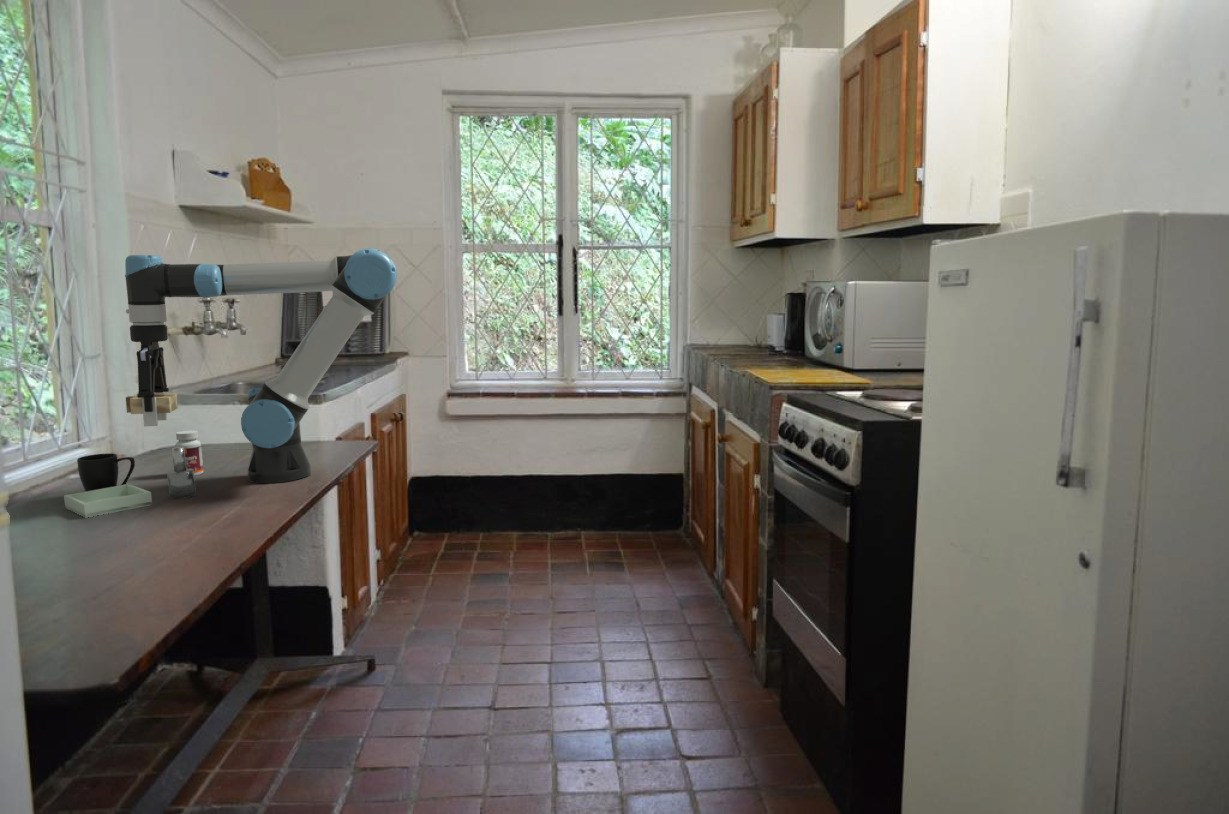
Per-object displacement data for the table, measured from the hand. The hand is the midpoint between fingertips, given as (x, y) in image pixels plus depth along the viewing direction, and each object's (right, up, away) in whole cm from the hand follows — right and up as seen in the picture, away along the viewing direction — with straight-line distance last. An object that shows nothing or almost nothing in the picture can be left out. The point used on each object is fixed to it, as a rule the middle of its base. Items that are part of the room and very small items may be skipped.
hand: (155, 422), depth 204 cm
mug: (-15, -18, +7) cm, 24 cm away
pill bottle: (-5, -14, +28) cm, 32 cm away
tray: (-9, -19, -4) cm, 21 cm away
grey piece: (+4, -17, +5) cm, 18 cm away
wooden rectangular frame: (0, +3, 0) cm, 3 cm away
